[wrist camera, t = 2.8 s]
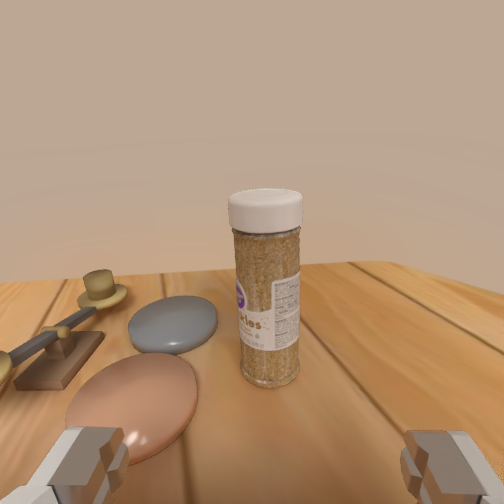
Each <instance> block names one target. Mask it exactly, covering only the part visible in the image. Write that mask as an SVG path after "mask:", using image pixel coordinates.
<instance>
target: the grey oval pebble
mask: <svg viewBox="0 0 504 504" xmlns="http://www.w3.org/2000/svg"><path fill="white" fill-rule="evenodd" d="M216 328H217V315H216V309H215V307H214V305H213V304H212V303H211V302H210V301H208V300H206V299H204V298H201V297H196V296H175V297H169V298H165V299H161V300H158V301H155V302H153V303H151V304H149V305H147V306H145V307H143V308H142V309H140V310H139V311H138V312H137V313H136V314H135V315H134V316H133V317H132V318H131V320H130V322H129V325H128V330H129V335H130V339H131V343H132V345H133V346H134V348H135V349H137V350H138V351H140V352H141V353H144V354H145V353H167V354H171V355H177V354H181V353H184V352H187V351H190V350H192V349H195V348H197V347H199V346H200V345H202V344H203V343H205V342H206V341H207V340H208V339H209V338H210V337H211V336H212V335H213V334H214V332H215V330H216Z"/></svg>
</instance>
